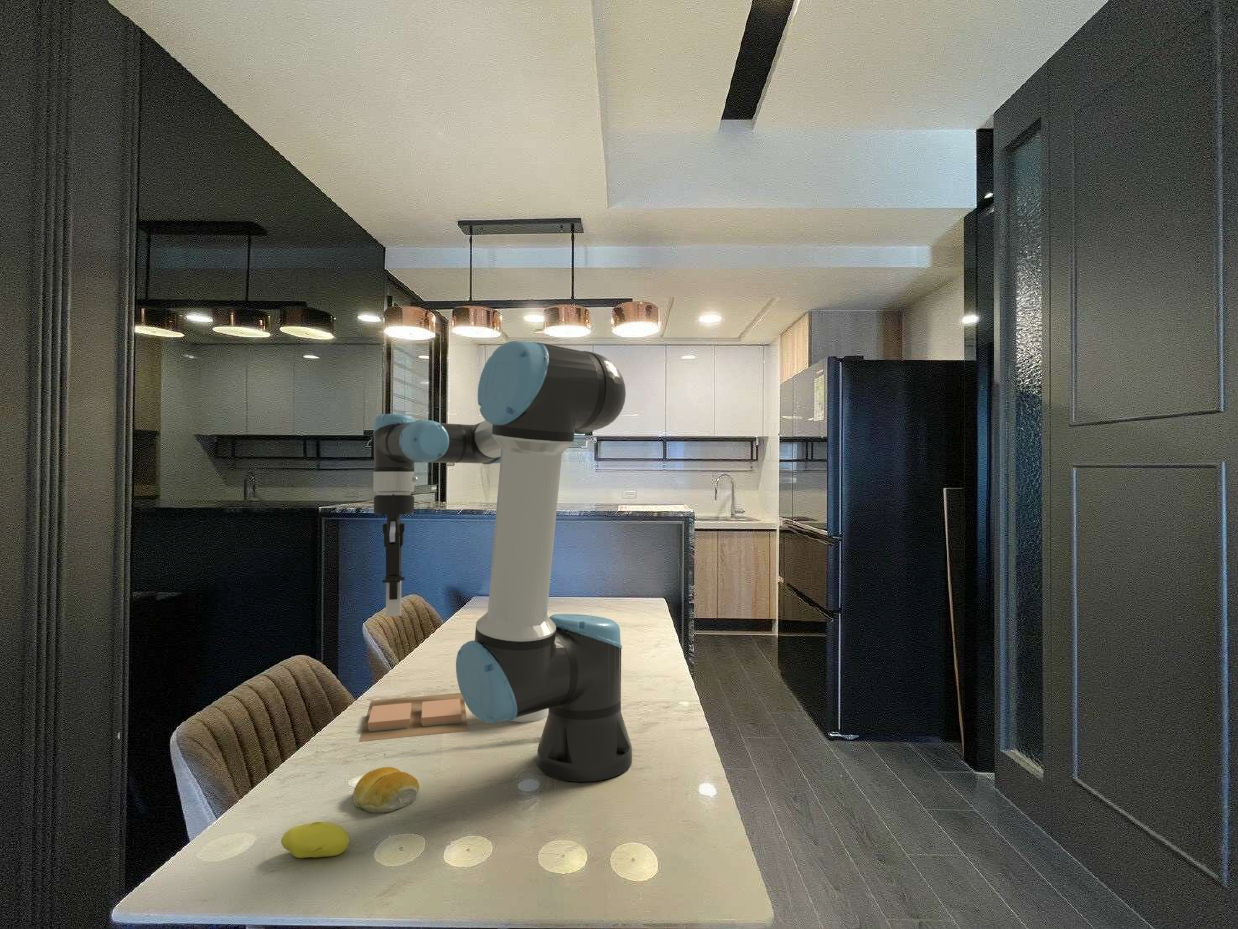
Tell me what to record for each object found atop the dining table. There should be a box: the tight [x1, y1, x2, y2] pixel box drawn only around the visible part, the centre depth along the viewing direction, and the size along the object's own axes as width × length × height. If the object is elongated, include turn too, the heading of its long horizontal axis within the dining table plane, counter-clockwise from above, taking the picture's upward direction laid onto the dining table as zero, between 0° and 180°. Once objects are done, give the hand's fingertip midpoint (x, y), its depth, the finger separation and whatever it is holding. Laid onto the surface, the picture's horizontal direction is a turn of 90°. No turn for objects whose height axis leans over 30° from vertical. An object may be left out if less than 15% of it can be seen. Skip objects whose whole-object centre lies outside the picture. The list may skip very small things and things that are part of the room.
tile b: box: [368, 703, 412, 731], centre depth 122 cm, size 2×7×9 cm
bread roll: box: [352, 766, 420, 814], centre depth 94 cm, size 8×9×4 cm
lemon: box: [280, 821, 350, 859], centre depth 80 cm, size 4×8×4 cm, turn 87°
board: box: [359, 692, 469, 743], centre depth 125 cm, size 22×18×1 cm
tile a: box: [421, 699, 462, 726], centre depth 124 cm, size 2×7×9 cm
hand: (393, 615), depth 129 cm, fingers closed
